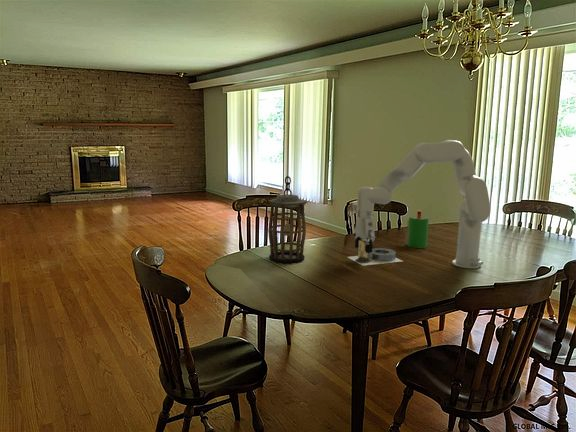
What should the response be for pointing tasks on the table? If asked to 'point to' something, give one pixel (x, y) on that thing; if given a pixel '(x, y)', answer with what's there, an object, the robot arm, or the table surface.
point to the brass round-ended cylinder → (362, 251)
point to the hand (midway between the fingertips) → (363, 249)
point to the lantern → (287, 228)
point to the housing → (382, 254)
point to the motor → (418, 231)
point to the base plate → (372, 261)
